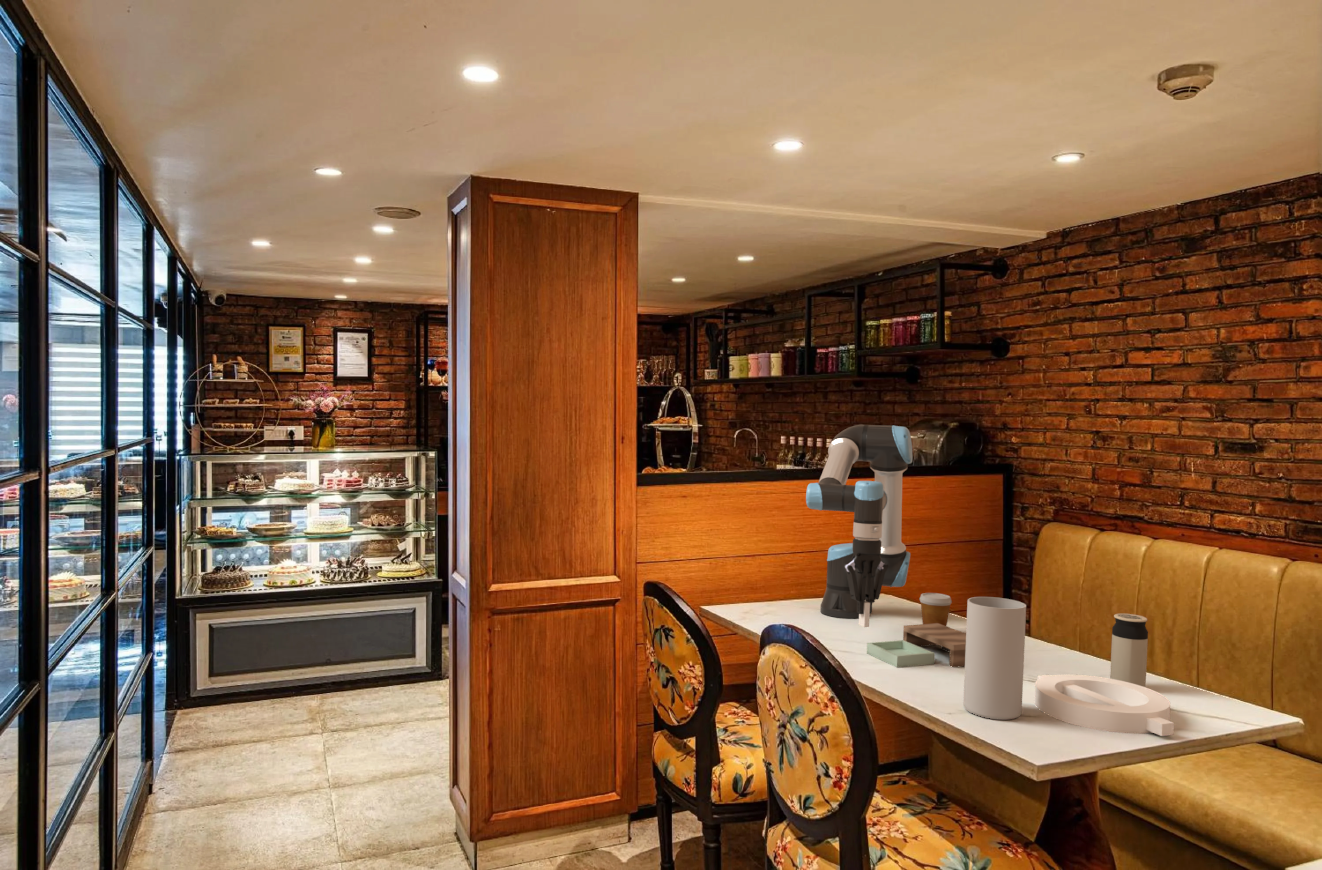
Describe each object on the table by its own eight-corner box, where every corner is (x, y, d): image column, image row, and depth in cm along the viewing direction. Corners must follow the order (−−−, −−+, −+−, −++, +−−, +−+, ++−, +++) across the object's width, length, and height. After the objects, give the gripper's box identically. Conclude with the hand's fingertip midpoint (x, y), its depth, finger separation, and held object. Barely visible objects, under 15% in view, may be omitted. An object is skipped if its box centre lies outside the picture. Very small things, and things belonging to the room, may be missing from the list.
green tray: (866, 653, 253) (867, 642, 253) (902, 650, 258) (903, 640, 257) (896, 667, 240) (897, 656, 240) (934, 664, 244) (934, 653, 244)
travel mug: (1126, 693, 223) (1129, 621, 223) (1102, 683, 231) (1105, 613, 230) (1152, 691, 225) (1156, 619, 225) (1128, 682, 233) (1131, 612, 233)
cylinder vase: (974, 698, 215) (979, 594, 215) (1028, 711, 207) (1033, 603, 207) (954, 711, 206) (959, 602, 205) (1010, 725, 198) (1015, 611, 197)
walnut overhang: (902, 646, 262) (903, 625, 262) (936, 643, 267) (937, 623, 267) (953, 667, 242) (953, 645, 242) (989, 663, 246) (989, 642, 246)
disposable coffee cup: (946, 631, 282) (948, 593, 281) (953, 639, 272) (955, 599, 272) (915, 630, 282) (916, 591, 282) (921, 637, 273) (922, 598, 273)
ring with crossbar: (1175, 743, 191) (1176, 721, 190) (1031, 720, 202) (1032, 699, 202) (1163, 705, 216) (1164, 685, 216) (1036, 687, 228) (1037, 668, 228)
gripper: (854, 540, 238) (850, 630, 238) (895, 540, 242) (892, 627, 243) (838, 537, 245) (835, 623, 245) (879, 536, 249) (876, 621, 250)
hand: (863, 625), depth 244 cm, fingers closed
